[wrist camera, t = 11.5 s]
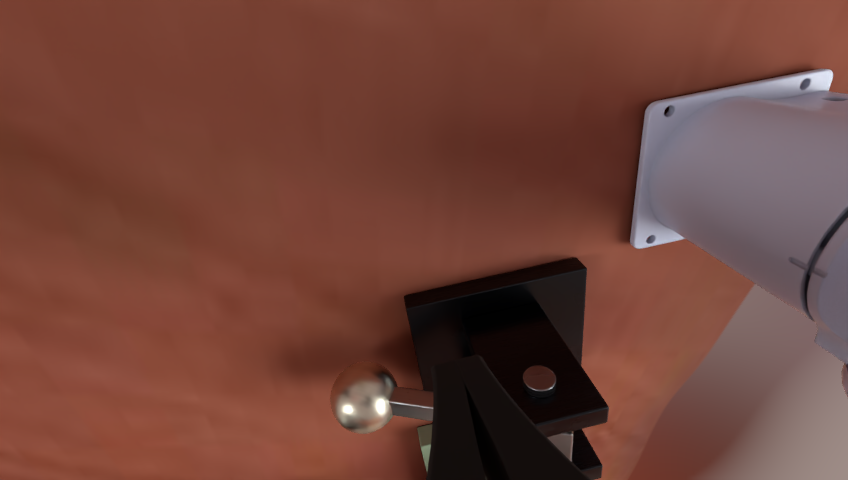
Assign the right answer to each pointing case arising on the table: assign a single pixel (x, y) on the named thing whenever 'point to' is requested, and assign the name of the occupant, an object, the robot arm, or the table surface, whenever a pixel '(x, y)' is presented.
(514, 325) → the black lever mount
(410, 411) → the tap lever
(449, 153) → the table surface
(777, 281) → the robot arm
